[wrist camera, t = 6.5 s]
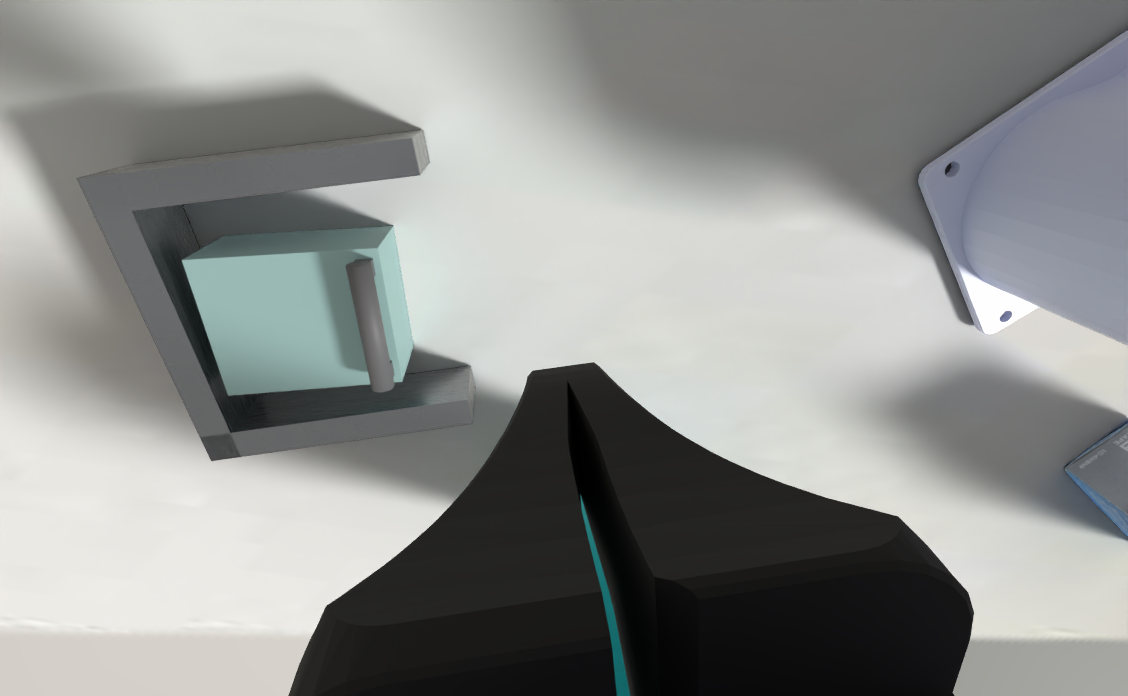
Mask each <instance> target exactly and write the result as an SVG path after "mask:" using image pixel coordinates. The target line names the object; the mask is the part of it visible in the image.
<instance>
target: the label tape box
mask: <svg viewBox="0 0 1128 696" xmlns="http://www.w3.org/2000/svg"><path fill="white" fill-rule="evenodd" d="M1065 471H1066V473H1067V474H1068V475H1069V476H1070V477H1071V478H1072V479H1073V481H1074V482H1075V483H1076V484H1077V485H1078V486H1079V487H1080V488H1081V489H1082V490H1083V491H1084V492H1085V493H1086V494H1087V496H1088V497H1089V498H1090V499H1091V500H1092V501H1093V502H1094V503H1095V504H1096V505H1097V506H1098V507H1099V508H1100V509H1101V510H1102V511H1103V512H1104V513H1105V514H1106V515H1107V516H1108V517H1109V518H1110V519H1111V520H1112V521H1113V522H1114V523H1115V524H1116V525H1117V526H1118V527H1119V528H1120V529H1121V531H1122V532H1123V533H1124V534H1125V535H1126V536H1127V537H1128V423H1127V424H1126V425H1124V426H1123V427H1121V428H1120V429H1118V430H1116V431H1115V432H1113V433H1111V434H1110V435H1108V436H1107V437H1105V438H1104V439H1102V440H1101V441H1099V442H1098V443H1096V444H1094V445H1093V446H1092V447H1090V448H1089V449H1088V450H1086V451H1085V452H1084V453H1082V454H1081V455H1080V456H1079V457H1077V458H1076V459H1075V460H1074V461H1072V462H1071V463H1070V464H1069V465H1068V466H1067V467H1066V468H1065Z"/></svg>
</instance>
